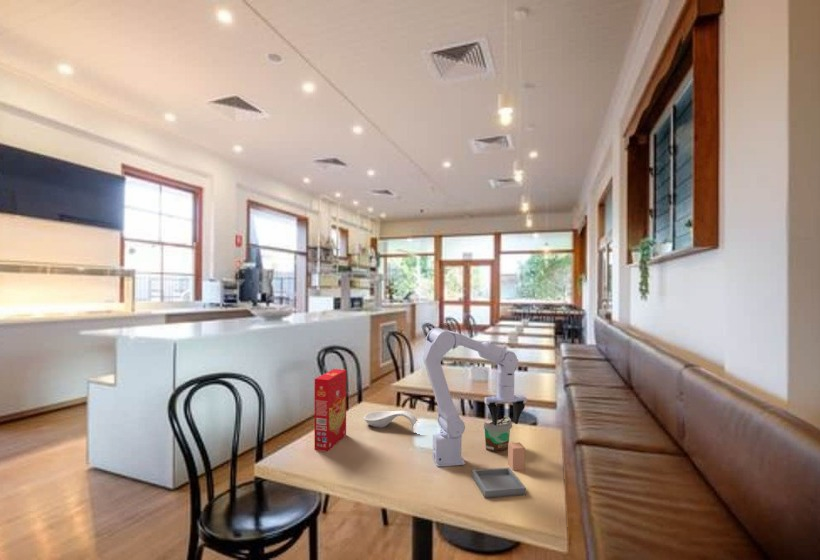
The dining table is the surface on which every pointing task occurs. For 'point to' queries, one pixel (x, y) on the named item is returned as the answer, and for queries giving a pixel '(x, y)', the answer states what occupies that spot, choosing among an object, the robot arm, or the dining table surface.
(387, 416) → the spoon rest
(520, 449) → the block
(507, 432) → the food container
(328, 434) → the food packaging
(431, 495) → the dining table surface
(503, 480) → the tray
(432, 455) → the robot arm
